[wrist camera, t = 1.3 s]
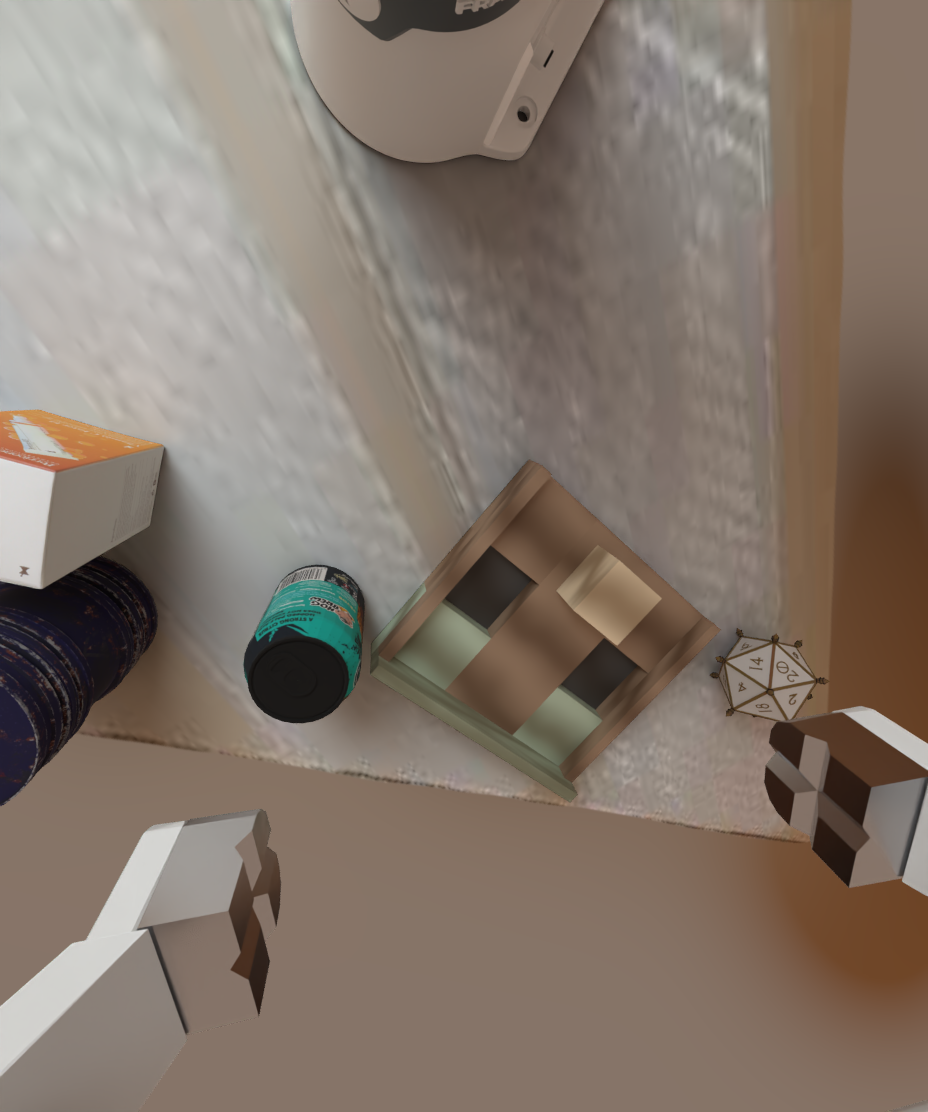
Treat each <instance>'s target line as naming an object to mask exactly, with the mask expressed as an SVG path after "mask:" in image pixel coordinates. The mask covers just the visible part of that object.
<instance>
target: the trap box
mask: <svg viewBox="0 0 928 1112" xmlns="http://www.w3.org/2000/svg"><path fill="white" fill-rule="evenodd" d="M551 475H552V474H551V473H550V472H549V471H548V470H546V469H545V468H544V467H543V466H542V465H540V464H538V463H535V462H533V461H531V460H528V461H527V462H526V464H525V465H524V466H523V467H522V468H521V469H520V471H519V472H518V473H517V474H516V475H515V476H514V478H513V479H512V480H511V481H510V482H509V483H508V485H507V486H506V487H505V488H504V489H503V490H502V492H501V493H500V494H499V495H498V496H497V497H496V499H495V500H494V501H493V502H492V503H491V504H490V506H489V507H488V508H487V509H486V510H485V511H484V513H483V514H482V515H481V516H480V517H479V518H478V520H477V521H476V522H475V523H474V524H473V525H472V527H471V528H470V529H469V530H468V531H467V532H466V534H465V535H464V536H463V537H462V538H461V539H460V541H459V542H458V543H457V544H456V545H455V546H454V548H453V549H452V550H451V551H450V552H449V553H448V555H447V556H446V557H445V558H444V559H443V560H442V562H441V563H440V564H439V565H438V566H437V567H436V569H435V570H434V571H433V572H432V573H431V574H430V576H429V577H428V578H427V579H426V580H425V581H424V583H423V584H422V585H421V586H420V587H419V588H418V590H417V591H416V592H415V593H414V594H413V596H412V597H411V598H410V599H409V600H408V601H407V603H406V604H405V605H404V606H403V607H402V608H401V610H400V611H399V612H398V613H397V614H396V615H395V617H394V618H393V619H392V620H391V621H390V622H389V624H388V625H387V626H386V627H385V628H384V629H383V631H382V632H381V633H380V634H379V635H378V636H377V638H376V639H375V640H374V641H373V642H372V643H371V668H370V675H371V676H373V677H375V678H376V679H378V680H379V681H381V682H382V683H384V684H386V685H387V686H389V687H390V688H392V689H393V690H395V691H396V692H398V693H400V694H401V695H403V696H404V697H406V698H407V699H409V700H411V701H412V702H414V703H415V704H417V705H418V706H420V707H421V708H423V709H425V710H426V711H428V712H429V713H431V714H432V715H434V716H436V717H437V718H439V719H440V720H442V721H443V722H445V723H446V724H448V725H450V726H451V727H453V728H454V729H456V730H457V731H459V732H461V733H462V734H464V735H465V736H467V737H468V738H470V739H471V740H473V741H475V742H476V743H478V744H479V745H481V746H482V747H484V748H486V749H487V750H489V751H490V752H492V753H493V754H495V755H496V756H498V757H500V758H501V759H503V760H504V761H506V762H507V763H509V764H511V765H512V766H514V767H515V768H517V769H518V770H520V771H521V772H523V773H525V774H526V775H528V776H529V777H531V778H532V779H534V780H536V781H537V782H539V783H540V784H542V785H543V786H545V787H546V788H548V789H550V790H551V791H553V792H554V793H556V794H557V795H559V796H561V797H562V798H564V799H565V800H567V801H568V802H571V801H572V800H573V799H574V798H575V797H576V796H577V795H578V794H577V792H576V790H575V788H574V786H573V784H572V782H573V781H574V780H575V779H576V778H577V777H578V776H579V775H580V774H581V773H582V771H583V770H584V769H585V768H586V767H587V766H588V765H589V764H590V763H591V762H592V761H593V760H594V759H595V758H596V757H597V756H598V755H599V754H600V753H601V752H602V751H603V750H604V749H605V748H606V747H607V746H608V745H609V744H610V743H611V742H612V741H613V740H614V739H615V738H616V737H617V736H618V735H619V734H620V733H621V732H622V731H623V730H624V728H625V727H626V726H627V725H628V724H629V723H630V722H631V721H632V720H633V719H634V718H635V717H636V716H637V715H638V714H639V713H640V712H641V711H642V710H643V709H644V708H645V707H646V706H647V705H648V704H649V703H650V702H651V701H652V700H653V699H654V698H655V697H656V696H657V695H658V694H659V693H660V692H661V691H662V690H663V689H664V688H665V687H666V686H667V684H668V683H669V682H670V681H671V680H672V679H673V678H674V677H675V676H676V675H677V674H678V673H679V672H680V671H681V670H682V669H683V668H684V667H685V666H686V665H687V664H688V663H689V662H690V661H691V660H692V659H693V658H694V657H695V656H696V655H697V654H698V653H699V652H700V651H701V650H702V649H703V648H704V647H705V646H706V645H707V644H708V643H709V641H710V640H711V639H712V638H713V637H714V636H715V635H716V634H717V633H718V632H719V631H720V629H719V628H718V627H717V626H716V625H715V624H714V623H712V622H711V621H710V620H708V619H707V618H705V617H704V616H703V615H702V614H700V613H699V612H698V611H697V610H696V609H695V608H694V607H693V606H692V605H691V604H690V603H688V602H687V601H686V600H685V599H684V598H683V597H682V596H681V595H680V594H679V593H678V592H676V591H675V590H674V589H673V588H672V587H671V586H670V585H669V584H668V583H667V582H666V581H664V580H663V579H662V578H661V577H660V576H659V575H658V574H657V573H656V572H655V571H654V570H652V569H651V568H650V567H649V566H648V565H647V564H646V563H645V562H644V561H643V560H642V559H640V558H639V557H638V556H637V555H636V554H635V553H634V552H633V551H632V550H631V549H630V548H629V547H627V546H626V545H625V544H624V543H623V542H622V541H621V540H620V539H619V538H618V537H617V536H615V535H614V534H613V533H612V532H611V531H610V530H609V529H608V528H607V527H606V526H605V525H603V524H602V523H601V522H600V521H599V520H598V519H597V518H596V517H595V516H594V515H593V514H591V513H590V512H589V511H588V510H587V509H586V508H585V507H584V506H583V505H582V504H581V503H579V502H578V501H577V500H576V499H575V498H574V497H573V496H572V495H571V494H570V493H569V492H567V491H566V490H565V489H564V488H563V487H562V486H561V485H560V484H559V483H558V482H557V481H555V480H554V479H553V478H552V477H551ZM597 545H598V546H600V547H601V548H603V549H604V550H606V551H607V552H608V553H610V554H611V555H613V556H614V557H615V558H617V559H618V560H620V561H621V562H622V563H623V564H624V565H625V566H626V567H627V568H629V569H630V570H631V571H632V572H633V573H634V574H635V575H636V576H637V577H639V578H640V579H641V580H642V581H643V582H644V583H645V584H646V585H648V586H649V587H650V588H651V589H652V590H653V591H654V592H655V593H656V594H658V595H659V596H660V597H661V598H662V599H661V600H660V601H659V602H658V603H657V604H656V605H655V606H654V607H653V608H652V610H651V611H650V612H649V613H648V614H647V615H646V616H645V617H644V618H643V619H642V620H641V621H640V622H639V623H638V624H637V625H636V626H635V628H634V629H633V630H632V631H631V632H630V633H629V634H628V635H627V636H626V637H625V638H624V639H623V640H622V641H621V642H620V643H619V644H618V646H617V645H615V644H614V643H613V642H612V641H611V640H609V639H608V638H607V637H606V636H604V635H603V634H602V633H601V632H599V631H598V630H597V629H596V628H595V627H593V626H592V625H591V624H590V623H588V622H587V621H586V620H585V619H584V618H582V617H581V616H580V615H579V614H577V613H576V612H575V611H574V610H573V609H572V608H571V607H570V606H569V605H568V604H567V602H566V601H565V600H564V599H563V598H562V597H561V596H560V594H559V593H558V592H557V591H556V590H557V589H558V588H559V587H560V586H561V585H562V584H563V583H564V582H565V580H566V579H567V578H568V577H569V576H570V575H571V574H572V573H573V572H574V571H575V569H576V568H577V567H578V566H579V565H580V564H581V563H582V562H583V561H584V559H585V558H586V557H587V556H588V555H589V554H590V553H591V552H592V551H593V550H594V548H595V547H596V546H597Z"/></svg>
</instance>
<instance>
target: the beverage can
mask: <svg viewBox="0 0 928 1112" xmlns="http://www.w3.org/2000/svg"><path fill="white" fill-rule="evenodd" d="M363 622H364V599H363V595H362V592H361V590H360V588H359V587H358V585H357V584H356V582H355V581H354V580H353V579H352V578H351V577H350V576H349V575H347V574H346V573H345V572H343V571H341V570H339V569H337V568H334V567H330V566H326V565H311V566H305V567H302V568H299V569H297V570H295V571H293V572H292V573H290V574H288V575H287V576H286V577H285V578H284V579H283V580H282V581H281V583H280V584H279V586H278V587H277V589H276V591H275V593H274V595H273V597H272V599H271V601H270V603H269V605H268V607H267V609H266V610H265V612H264V614H263V616H262V618H261V620H260V622H259V624H258V626H257V628H256V630H255V632H254V634H253V636H252V638H251V640H250V642H249V644H248V647H247V649H246V652H245V656H244V672H245V678H246V680H247V683H248V688H249V692H250V694H251V697H252V699H253V700H254V702H255V703H256V705H257V706H258V707H259V708H260V709H261V710H262V711H263V712H264V713H266V714H268V715H269V716H271V717H273V718H275V719H278V720H280V721H284V722H289V723H307V722H313V721H316V720H319V719H321V718H324V717H325V716H327V715H329V714H330V713H332V712H333V711H334V710H335V709H336V708H337V707H338V706H339V705H340V704H341V702H342V701H343V700H344V699H346V698H347V697H348V695H349V694H350V693H351V691H352V690H353V689H354V687H355V685H356V683H357V681H358V678H359V674H360V669H361V655H362V639H363Z"/></svg>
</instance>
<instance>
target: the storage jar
mask: <svg viewBox="0 0 928 1112" xmlns="http://www.w3.org/2000/svg"><path fill="white" fill-rule="evenodd" d="M157 623H158V615H157V610H156V606H155V603H154V600H153V598H152V596H151V594H150V592H149V590H148V589H147V588H146V586H145V585H144V584H143V582H142V581H141V580H140V579H139V578H138V577H137V576H136V575H134V574H133V573H132V572H131V571H129V570H128V569H126V568H125V567H123V566H121V565H120V564H118V563H116V562H114V561H111V560H108V559H106V558H103V557H99V556H98V557H96V558H94V559H92V560H91V561H89V562H87V563H86V564H84V565H82V566H80V567H79V568H77V569H75V570H74V571H72V572H70V573H68V574H67V575H65V576H63V577H62V578H60V579H58V580H56V581H55V582H53V583H51V584H50V585H48V586H46V587H45V588H43V589H36V588H32V587H27V586H22V585H18V584H13V583H7V582H3V581H0V806H2V805H4V804H6V803H7V802H8V801H10V800H11V799H12V798H14V797H15V796H16V795H17V794H18V793H19V792H20V791H21V790H22V789H23V788H24V787H25V786H26V785H27V784H28V783H29V782H30V780H31V779H32V778H33V777H34V776H35V774H36V773H37V772H38V771H39V770H40V769H41V768H42V767H43V766H44V765H46V764H47V763H48V762H50V760H51V759H52V758H53V757H54V756H55V755H56V754H57V753H58V752H59V751H60V750H61V749H62V748H63V746H64V745H65V744H66V743H67V742H68V740H69V739H70V738H71V737H72V736H73V735H74V734H75V733H76V732H77V731H78V730H79V729H80V727H81V725H82V724H83V722H84V721H85V718H86V717H87V715H88V713H89V711H90V708H91V706H92V705H93V704H94V703H95V702H96V701H98V700H100V699H101V698H103V697H104V696H105V695H107V694H108V693H110V692H111V691H112V690H114V689H115V688H116V687H117V686H118V685H119V684H120V683H121V681H122V680H123V678H124V677H125V676H126V675H127V674H128V673H129V672H130V670H131V669H132V668H133V667H134V666H135V664H136V663H137V661H138V660H139V658H140V656H141V655H142V654H143V653H144V652H145V651H146V650H147V649H148V647H149V646H150V644H151V643H152V641H153V639H154V636H155V634H156V630H157Z"/></svg>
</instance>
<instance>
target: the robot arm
mask: <svg viewBox="0 0 928 1112" xmlns="http://www.w3.org/2000/svg"><path fill="white" fill-rule="evenodd" d="M603 2H604V0H291V13H292V20H293V27H294V32H295V37H296V41H297V44H298V48H299V51H300V54H301V57H302V60H303V63H304V65H305V68H306V70H307V72H308V75H309V77H310V79H311V81H312V83H313V85H314V87H315V88H316V90H317V92H318V93H319V95H320V97H321V98H322V100H323V101H324V103H325V104H326V106H327V107H328V108H329V110H330V111H331V112H332V113H333V115H334V116H335V117H336V118H337V119H338V120H339V121H340V123H341V124H342V125H343V126H344V127H345V128H346V129H347V130H349V131H350V132H351V133H352V134H353V135H354V136H356V137H357V138H358V139H360V140H361V141H362V142H364V143H365V144H367V145H368V146H370V147H371V148H373V149H375V150H377V151H379V152H381V153H383V154H385V155H388V156H391V157H393V158H396V159H400V160H404V161H409V162H418V163H433V162H441V161H446V160H450V159H454V158H457V157H461V156H465V155H471V154H479V155H483V156H487V157H491V158H495V159H501V160H516V159H519V158H520V157H522V156H523V155H524V154H525V153H526V151H527V150H528V148H529V146H530V144H531V142H532V140H533V138H534V137H535V135H536V133H537V131H538V129H539V127H540V125H541V123H542V121H543V119H544V117H545V115H546V113H547V111H548V109H549V107H550V105H551V103H552V102H553V100H554V98H555V96H556V94H557V92H558V90H559V88H560V86H561V84H562V82H563V80H564V78H565V76H566V74H567V72H568V70H569V69H570V67H571V65H572V63H573V61H574V59H575V57H576V55H577V53H578V51H579V49H580V47H581V45H582V43H583V41H584V39H585V37H586V35H587V34H588V32H589V30H590V28H591V26H592V24H593V22H594V20H595V18H596V16H597V14H598V12H599V10H600V8H601V6H602V4H603ZM519 111H522V112H524V113H525V114H526V116H527V122H521V121H520V120H519V119H518V116H517V112H519ZM769 743H770V745H771V746H772V748H773V749H774V751H775V752H776V753H775V754H774V755H773V757H772V758H771V759H770V760H769V762H768V763H767V764H766V768H765V780H764V783H765V786H766V790H767V793H768V796H769V799H770V801H771V803H772V804H773V806H774V808H775V809H776V811H777V813H778V814H779V815H780V816H781V817H782V818H783V819H784V820H785V821H786V822H787V824H788V825H789V826H791V827H793V828H795V829H797V830H799V831H801V832H803V833H805V834H807V835H809V836H810V841H811V846H812V850H813V851H814V852H815V853H816V854H817V855H818V856H819V857H820V858H821V859H822V860H823V861H824V862H825V863H826V865H827V866H828V867H829V868H830V869H831V870H832V871H833V872H834V873H835V874H836V875H837V876H838V877H839V878H840V879H841V880H842V881H843V882H844V883H845V884H846V885H847V886H848V888H851V887H857V886H862V885H867V884H873V883H878V882H884V881H889V880H894V879H900V878H903V879H902V882H904V883H906V884H907V885H909V886H911V887H912V888H914V889H916V890H917V891H919V892H921V893H923V894H924V895H926V896H928V744H927V743H925V742H924V741H922V740H920V739H919V738H917V737H916V736H914V735H913V734H911V733H910V732H908V731H906V730H905V729H903V728H902V727H900V726H899V725H897V724H896V723H894V722H892V721H891V720H889V719H887V718H886V717H885V716H883V715H881V714H880V713H878V712H877V711H875V710H873V709H869V708H866V707H862V706H859V707H853V708H848V709H843V710H838V711H833V712H831V713H824V714H818V715H813V716H807V717H801V718H796V719H790V720H784V721H779V722H777V723H776V724H775V725H774V727H773V728H772V729H771V734H770V740H769ZM270 831H271V828H270V825H269V821H268V817H267V814H266V811H264V810H262V809H258V810H250V811H243V812H236V813H229V814H223V815H216V816H208V817H202V818H195V819H190V820H187V821H179V822H172V823H165V824H158V825H153V826H152V827H150V828H149V829H148V830H147V831H146V832H144V834H143V835H142V836H141V838H140V840H139V842H138V844H137V846H136V848H135V849H134V852H133V853H132V855H131V857H130V859H129V861H128V863H127V865H126V866H125V868H124V870H123V872H122V874H121V876H120V877H119V879H118V881H117V883H116V885H115V887H114V889H113V890H112V893H111V894H110V896H109V898H108V900H107V902H106V903H105V905H104V907H103V909H102V911H101V913H100V915H99V917H98V919H97V920H96V922H95V924H94V926H93V928H92V930H91V931H90V933H89V935H88V937H87V939H86V941H81V942H77V943H73V944H71V945H70V946H69V947H68V948H66V949H65V950H64V951H63V952H62V953H61V954H60V955H59V956H57V957H56V958H55V959H54V960H53V961H52V962H51V963H49V964H48V965H47V966H46V967H45V968H44V969H43V970H41V971H40V972H39V973H38V974H37V975H36V976H35V977H33V978H32V979H31V980H30V981H29V982H28V983H27V984H25V985H24V986H23V987H22V988H21V989H20V990H19V991H18V992H16V993H15V994H14V995H13V996H12V997H11V998H10V999H8V1000H7V1001H6V1002H5V1003H4V1004H3V1005H2V1006H1V1007H0V1112H139V1110H140V1108H141V1107H142V1106H143V1104H144V1103H145V1101H146V1100H147V1098H148V1097H149V1095H150V1094H151V1093H152V1091H153V1090H154V1088H155V1087H156V1085H157V1084H158V1082H159V1081H160V1079H161V1078H162V1077H163V1075H164V1074H165V1072H166V1071H167V1069H168V1068H169V1066H170V1065H171V1063H172V1062H173V1060H174V1059H175V1058H176V1056H177V1055H178V1053H179V1052H180V1050H181V1049H182V1047H183V1046H184V1044H185V1043H186V1041H187V1037H186V1035H190V1034H193V1033H198V1032H202V1031H206V1030H210V1029H213V1028H218V1027H222V1026H226V1025H230V1024H234V1023H238V1022H241V1021H245V1020H249V1019H253V1018H257V1017H259V1014H260V1009H261V1003H262V999H263V993H264V988H265V983H266V978H267V973H268V968H269V963H270V960H269V956H268V952H267V948H266V944H265V941H266V939H268V937H269V936H270V935H271V933H272V932H273V931H274V930H275V928H276V926H277V920H278V914H279V908H280V892H281V880H280V869H279V863H278V858H277V854H276V853H275V852H274V851H272V850H271V849H270V848H268V847H267V844H268V840H269V835H270ZM887 1112H928V1100H926V1101H922V1102H919V1103H915V1104H912V1105H908V1106H904V1107H901V1108H898V1109H894V1110H890V1111H887Z"/></svg>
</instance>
